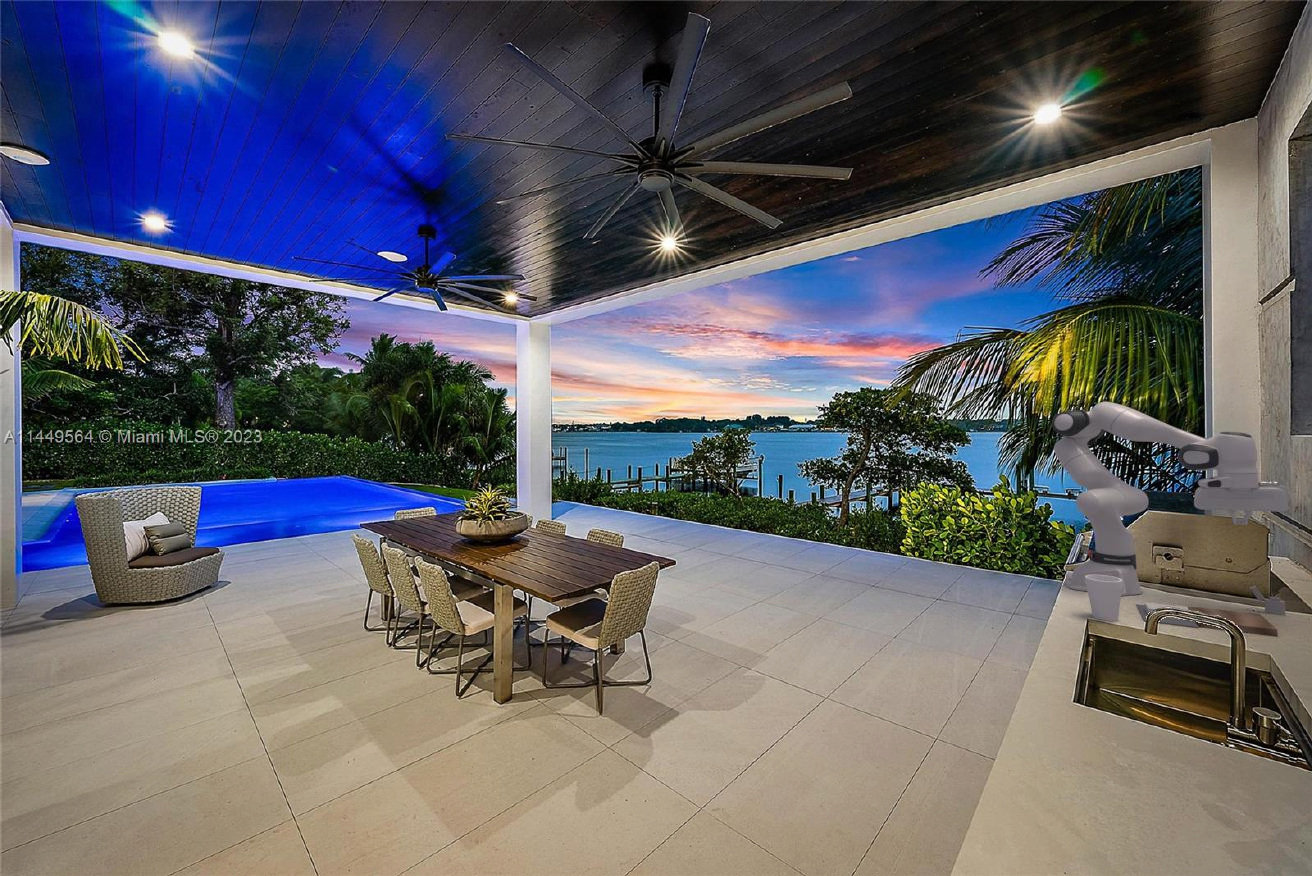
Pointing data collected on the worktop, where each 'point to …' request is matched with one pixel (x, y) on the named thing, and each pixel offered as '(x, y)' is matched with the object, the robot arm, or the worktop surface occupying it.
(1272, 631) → the plate
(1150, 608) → the tile
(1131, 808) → the worktop surface
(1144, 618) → the mat
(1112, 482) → the robot arm
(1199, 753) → the worktop surface
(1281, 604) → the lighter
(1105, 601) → the foam cup
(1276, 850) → the worktop surface
